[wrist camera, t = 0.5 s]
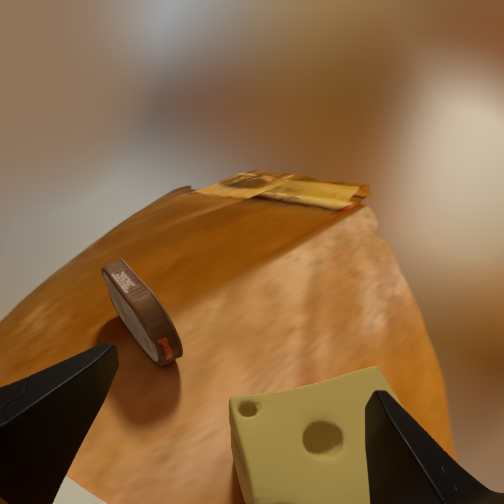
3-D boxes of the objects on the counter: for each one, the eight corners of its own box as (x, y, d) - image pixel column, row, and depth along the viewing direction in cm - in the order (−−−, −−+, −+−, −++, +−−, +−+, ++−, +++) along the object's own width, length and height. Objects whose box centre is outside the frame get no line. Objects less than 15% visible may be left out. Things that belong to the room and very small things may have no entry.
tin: (189, 371, 27) (178, 307, 24) (164, 385, 25) (146, 322, 22) (129, 301, 37) (117, 246, 33) (109, 310, 35) (94, 254, 31)
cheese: (255, 563, 10) (265, 568, 6) (227, 450, 20) (221, 385, 15) (388, 520, 12) (462, 480, 8) (343, 425, 22) (380, 353, 17)
